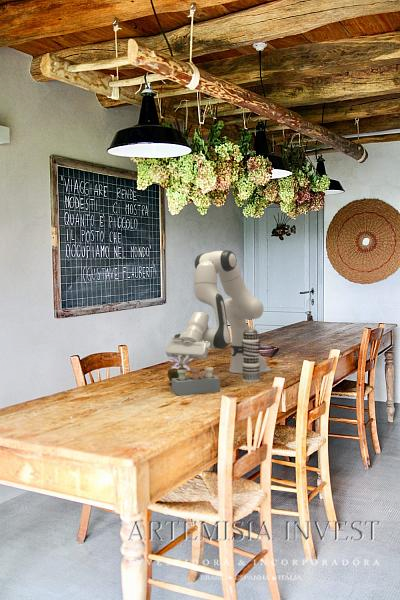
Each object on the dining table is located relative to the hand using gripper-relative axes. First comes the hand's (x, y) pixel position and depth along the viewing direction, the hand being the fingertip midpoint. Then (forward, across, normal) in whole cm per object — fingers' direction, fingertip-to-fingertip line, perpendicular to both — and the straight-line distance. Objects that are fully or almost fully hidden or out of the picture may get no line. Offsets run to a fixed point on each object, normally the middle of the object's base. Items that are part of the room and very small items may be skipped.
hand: (181, 364), depth 277 cm
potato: (-3, +12, -22) cm, 25 cm away
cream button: (0, -9, -14) cm, 16 cm away
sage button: (+7, 0, -7) cm, 10 cm away
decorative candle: (-18, -18, -36) cm, 45 cm away
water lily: (-28, +30, -46) cm, 61 cm away
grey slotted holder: (+6, -4, -13) cm, 15 cm away
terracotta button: (+3, -4, -10) cm, 12 cm away
